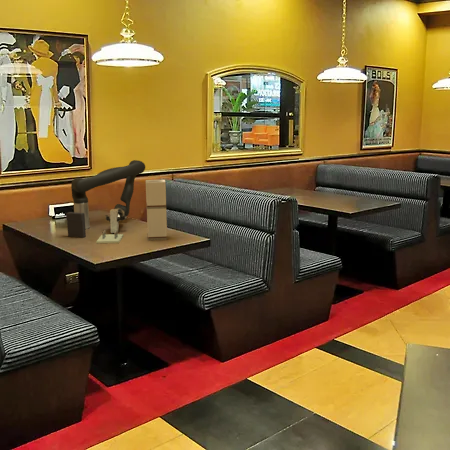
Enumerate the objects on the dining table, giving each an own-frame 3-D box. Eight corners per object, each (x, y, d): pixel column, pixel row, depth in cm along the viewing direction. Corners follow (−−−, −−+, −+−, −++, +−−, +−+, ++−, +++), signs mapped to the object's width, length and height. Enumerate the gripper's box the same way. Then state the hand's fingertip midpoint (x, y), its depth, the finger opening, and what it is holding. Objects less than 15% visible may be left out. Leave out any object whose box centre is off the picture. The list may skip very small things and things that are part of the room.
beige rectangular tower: (166, 235, 341) (164, 179, 333) (167, 239, 330) (165, 182, 323) (147, 236, 339) (145, 180, 332) (147, 240, 329) (146, 182, 321)
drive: (110, 232, 345) (109, 210, 342) (112, 230, 351) (111, 209, 348) (117, 232, 345) (116, 210, 342) (118, 230, 351) (117, 209, 348)
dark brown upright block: (86, 236, 339) (85, 212, 336) (82, 238, 335) (81, 214, 332) (71, 235, 343) (70, 211, 340) (67, 236, 339) (65, 212, 336)
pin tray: (96, 243, 322) (96, 234, 321) (102, 236, 340) (101, 228, 338) (118, 243, 322) (118, 234, 321) (123, 236, 340) (122, 227, 339)
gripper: (106, 209, 360) (101, 214, 343) (128, 209, 360) (124, 214, 343) (107, 220, 361) (102, 226, 344) (129, 220, 362) (125, 226, 345)
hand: (113, 220), depth 344 cm, fingers closed on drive, 4 cm apart
